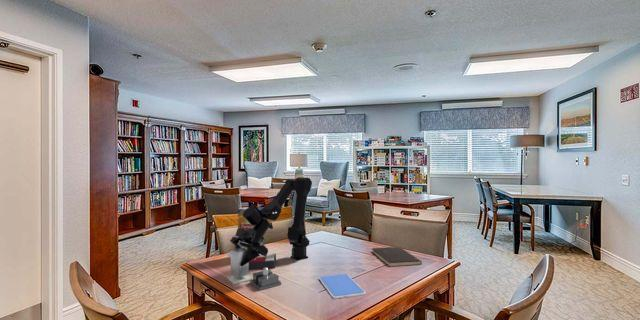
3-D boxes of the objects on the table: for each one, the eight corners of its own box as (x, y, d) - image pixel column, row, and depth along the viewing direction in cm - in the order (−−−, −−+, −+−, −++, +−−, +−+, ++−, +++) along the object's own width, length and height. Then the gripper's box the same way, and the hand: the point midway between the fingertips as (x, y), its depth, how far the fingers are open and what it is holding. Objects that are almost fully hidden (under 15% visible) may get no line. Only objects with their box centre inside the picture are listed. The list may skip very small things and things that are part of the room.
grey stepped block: (241, 271, 129) (240, 247, 129) (248, 274, 126) (248, 249, 126) (225, 276, 123) (225, 251, 123) (233, 279, 120) (233, 254, 120)
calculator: (243, 254, 148) (275, 251, 149) (244, 263, 148) (276, 260, 149) (240, 262, 137) (274, 259, 138) (240, 271, 137) (275, 268, 138)
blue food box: (263, 253, 159) (263, 207, 159) (263, 258, 152) (263, 209, 152) (239, 255, 157) (239, 207, 157) (237, 259, 150) (237, 210, 150)
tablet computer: (366, 296, 111) (366, 292, 111) (333, 300, 107) (333, 296, 107) (347, 276, 129) (347, 273, 129) (318, 279, 126) (318, 276, 126)
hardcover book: (388, 267, 140) (388, 262, 140) (371, 252, 163) (371, 248, 163) (421, 265, 143) (421, 260, 143) (400, 251, 166) (400, 246, 166)
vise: (270, 277, 127) (270, 262, 127) (281, 284, 120) (281, 269, 120) (250, 282, 122) (250, 267, 122) (259, 290, 115) (259, 274, 115)
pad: (245, 274, 131) (245, 273, 131) (252, 280, 125) (252, 278, 125) (227, 278, 126) (227, 277, 126) (233, 284, 120) (233, 283, 120)
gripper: (233, 217, 134) (210, 249, 126) (262, 223, 123) (239, 258, 114) (248, 232, 141) (227, 263, 132) (277, 239, 129) (256, 273, 120)
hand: (236, 264), depth 125 cm, fingers closed on grey stepped block, 5 cm apart
